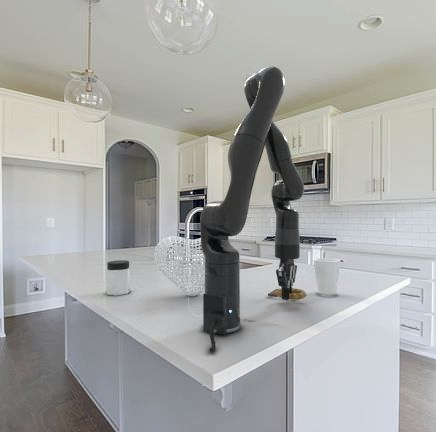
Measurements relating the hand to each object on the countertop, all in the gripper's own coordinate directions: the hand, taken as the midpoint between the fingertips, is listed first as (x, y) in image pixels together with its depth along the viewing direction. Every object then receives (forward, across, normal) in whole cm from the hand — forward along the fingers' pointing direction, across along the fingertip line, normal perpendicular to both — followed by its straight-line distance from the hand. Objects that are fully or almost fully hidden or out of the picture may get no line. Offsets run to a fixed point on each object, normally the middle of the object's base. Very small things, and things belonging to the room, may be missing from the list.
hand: (286, 298), depth 95 cm
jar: (+4, +10, -64) cm, 65 cm away
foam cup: (+3, -26, +7) cm, 27 cm away
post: (+3, -16, -6) cm, 17 cm away
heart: (+4, 0, -36) cm, 36 cm away
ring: (-1, -4, 0) cm, 4 cm away
